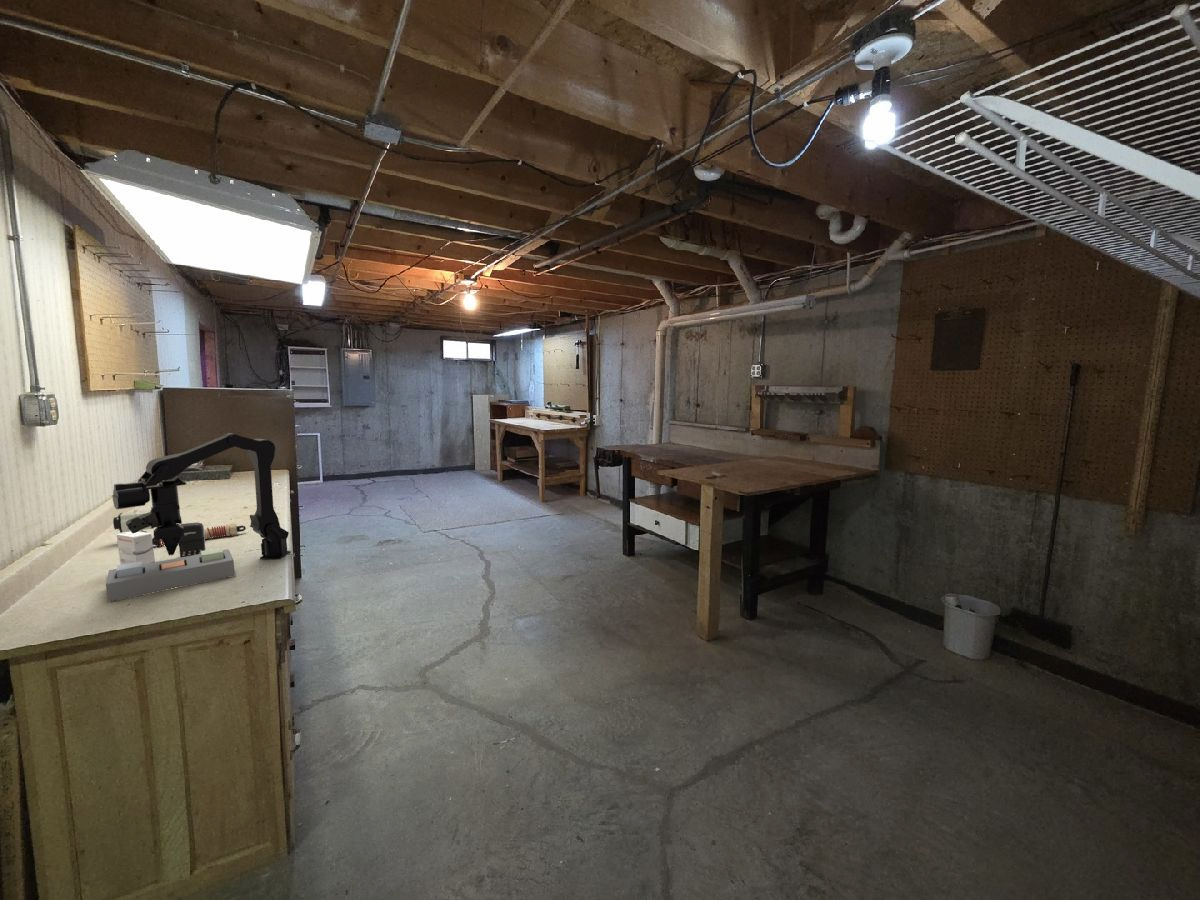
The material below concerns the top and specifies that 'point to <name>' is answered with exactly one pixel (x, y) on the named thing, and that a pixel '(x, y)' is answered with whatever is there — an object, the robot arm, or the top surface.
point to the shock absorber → (213, 532)
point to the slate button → (129, 569)
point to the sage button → (212, 554)
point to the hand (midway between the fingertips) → (171, 554)
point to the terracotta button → (173, 564)
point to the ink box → (135, 547)
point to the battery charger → (192, 539)
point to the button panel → (168, 576)
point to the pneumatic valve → (123, 517)
